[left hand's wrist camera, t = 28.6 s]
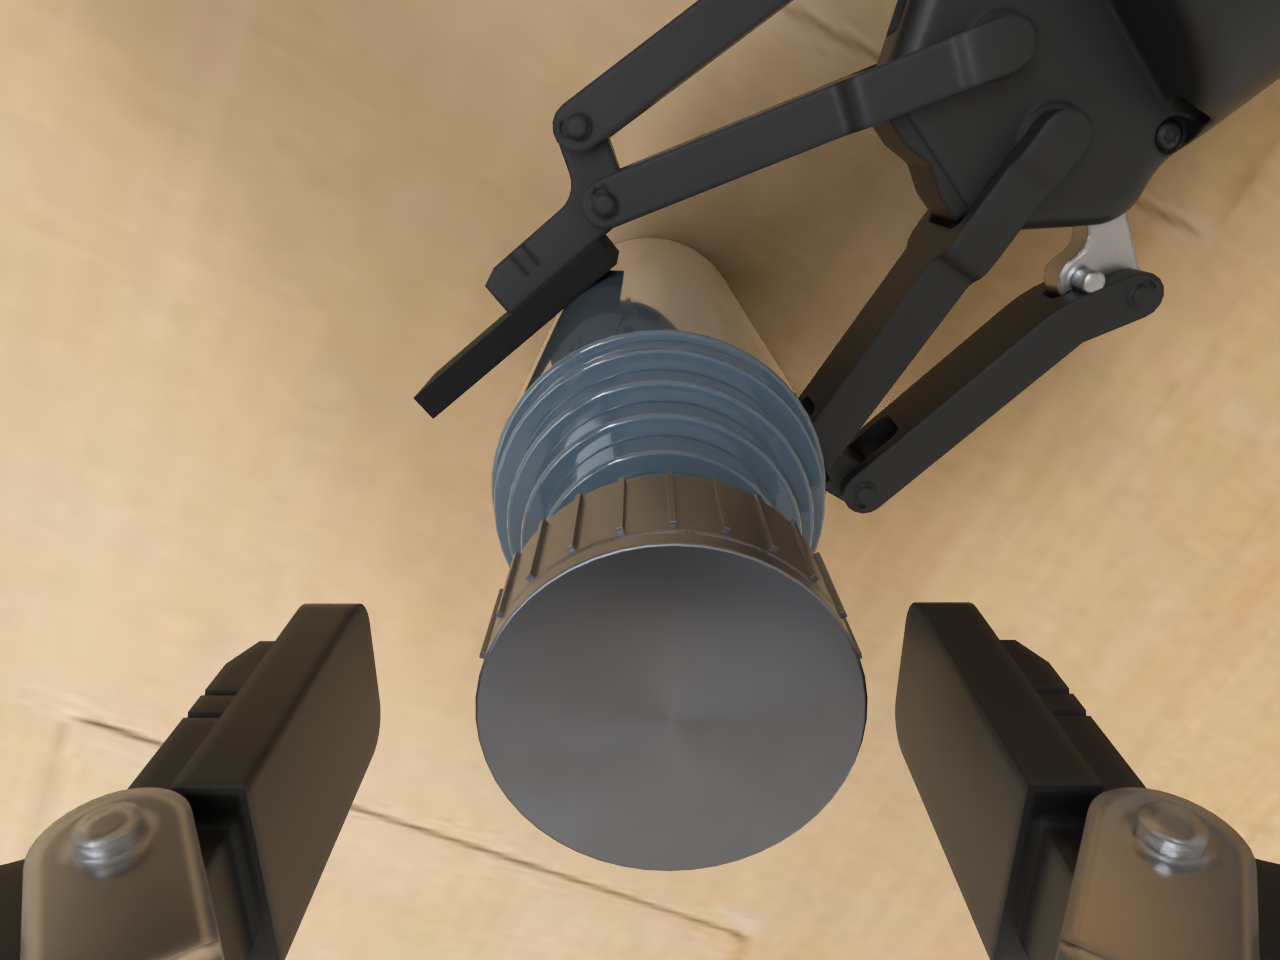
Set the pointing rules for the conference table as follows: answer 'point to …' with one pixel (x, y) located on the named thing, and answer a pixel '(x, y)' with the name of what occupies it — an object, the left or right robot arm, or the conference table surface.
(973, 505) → the conference table surface
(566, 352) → the bottle
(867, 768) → the conference table surface
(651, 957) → the conference table surface
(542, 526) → the cap
